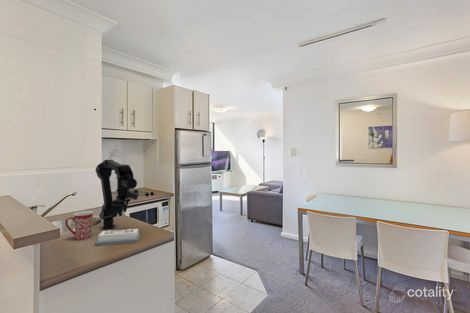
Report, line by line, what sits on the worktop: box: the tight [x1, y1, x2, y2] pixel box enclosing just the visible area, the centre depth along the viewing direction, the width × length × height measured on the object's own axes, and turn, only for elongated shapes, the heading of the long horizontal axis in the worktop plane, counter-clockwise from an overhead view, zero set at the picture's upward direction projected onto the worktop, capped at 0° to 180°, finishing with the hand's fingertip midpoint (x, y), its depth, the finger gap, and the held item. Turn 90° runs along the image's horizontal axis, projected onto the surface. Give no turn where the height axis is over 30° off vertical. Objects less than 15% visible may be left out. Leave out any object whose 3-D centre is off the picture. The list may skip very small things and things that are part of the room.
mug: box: [65, 210, 94, 241], centre depth 123 cm, size 13×9×14 cm
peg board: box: [94, 228, 142, 247], centre depth 120 cm, size 10×20×6 cm, turn 104°
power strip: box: [97, 228, 139, 241], centre depth 120 cm, size 6×18×3 cm, turn 103°
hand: (122, 213), depth 128 cm, fingers open, 9 cm apart
